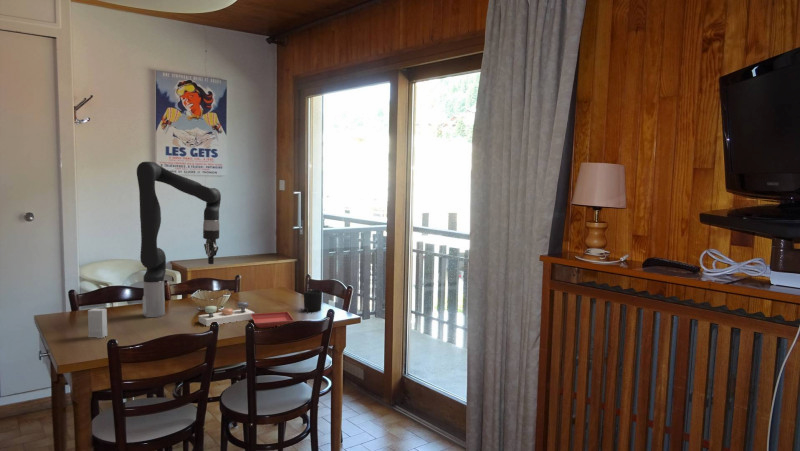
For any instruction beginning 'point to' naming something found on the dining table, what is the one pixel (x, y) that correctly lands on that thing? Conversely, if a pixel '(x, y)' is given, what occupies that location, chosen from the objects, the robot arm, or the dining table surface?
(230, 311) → the terracotta button
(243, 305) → the charcoal button
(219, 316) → the button board
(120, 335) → the dining table surface
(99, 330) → the skincare box
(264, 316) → the plant saucer
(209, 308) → the sage button
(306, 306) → the pen holder
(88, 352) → the dining table surface
